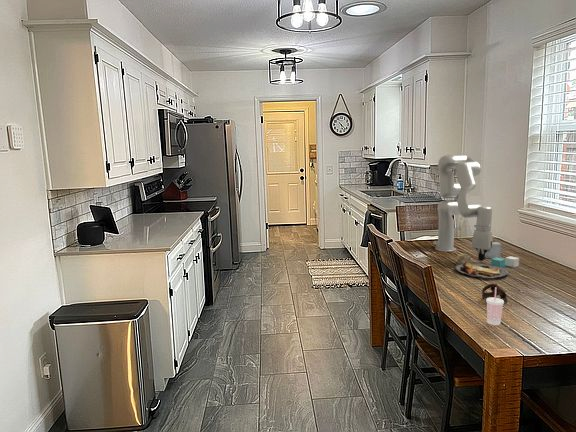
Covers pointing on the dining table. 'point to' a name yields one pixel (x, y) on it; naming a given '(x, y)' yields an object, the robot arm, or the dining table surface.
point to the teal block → (498, 262)
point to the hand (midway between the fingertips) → (481, 260)
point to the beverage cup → (494, 309)
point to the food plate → (480, 270)
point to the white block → (512, 261)
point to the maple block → (463, 258)
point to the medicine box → (494, 251)
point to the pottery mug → (492, 294)
